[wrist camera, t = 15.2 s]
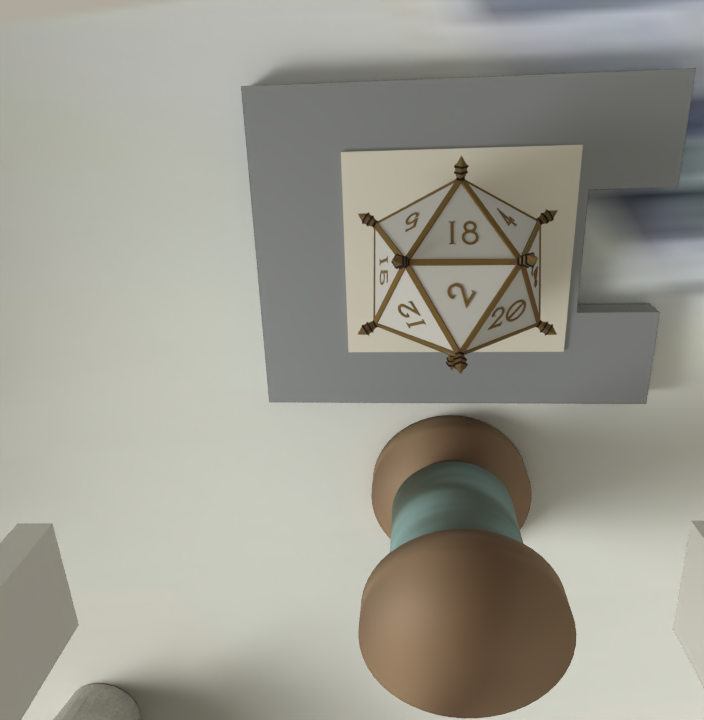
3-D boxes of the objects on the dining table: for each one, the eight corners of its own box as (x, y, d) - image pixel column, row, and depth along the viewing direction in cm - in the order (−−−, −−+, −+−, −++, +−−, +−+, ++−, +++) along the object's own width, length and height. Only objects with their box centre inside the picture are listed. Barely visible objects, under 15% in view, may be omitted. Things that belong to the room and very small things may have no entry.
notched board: (274, 390, 37) (268, 403, 35) (248, 87, 31) (240, 86, 29) (636, 391, 35) (647, 405, 33) (681, 70, 29) (697, 68, 28)
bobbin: (374, 544, 40) (361, 713, 29) (371, 415, 37) (355, 549, 26) (521, 548, 39) (566, 722, 28) (531, 416, 36) (586, 554, 25)
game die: (469, 207, 34) (626, 157, 25) (468, 368, 34) (624, 374, 25) (314, 188, 30) (435, 119, 21) (313, 370, 30) (434, 378, 21)
